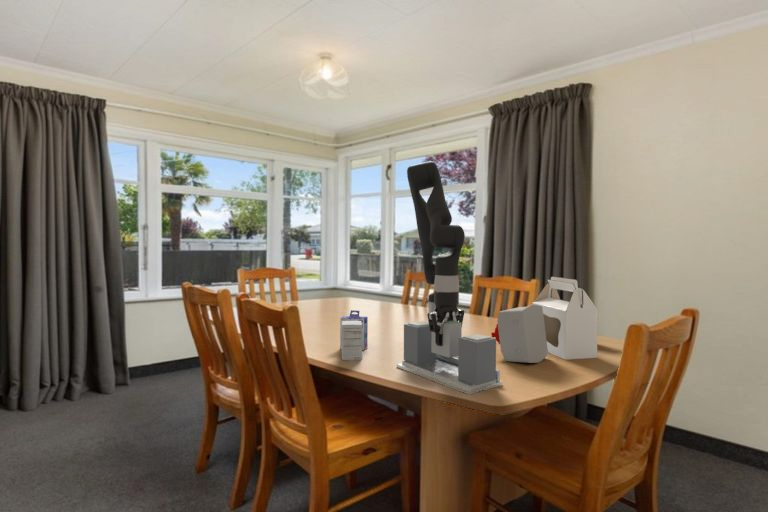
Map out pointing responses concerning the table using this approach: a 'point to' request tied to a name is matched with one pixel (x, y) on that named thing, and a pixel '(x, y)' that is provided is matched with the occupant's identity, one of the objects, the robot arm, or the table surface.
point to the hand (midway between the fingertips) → (445, 344)
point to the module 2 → (477, 359)
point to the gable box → (569, 320)
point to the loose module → (448, 339)
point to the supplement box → (351, 340)
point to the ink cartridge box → (364, 326)
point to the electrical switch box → (522, 334)
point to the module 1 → (418, 343)
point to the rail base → (447, 374)
